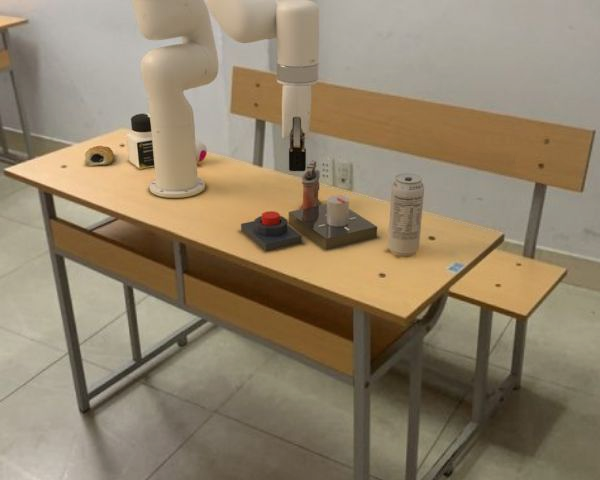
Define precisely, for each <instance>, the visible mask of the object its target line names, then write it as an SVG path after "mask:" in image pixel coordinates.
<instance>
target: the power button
mask: <svg viewBox="0 0 600 480" xmlns="http://www.w3.org/2000/svg"><path fill="white" fill-rule="evenodd" d="M261 216H262V224H263V225H267V226H274V225H278V224H280V216H281V214H280V213H279V212H278V211H270V210H269V211H265V212H262V213H261Z"/></svg>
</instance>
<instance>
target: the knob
mask: <svg viewBox="0 0 600 480" xmlns="http://www.w3.org/2000/svg"><path fill="white" fill-rule="evenodd" d="M326 204H327V219H326V222H327V224H328V225H330V226H335V227H341V226H345V225H347V224H348V216H349V209H350V198H349V197H348V196H346V195H341V194H334V195H329V196H327V198H326Z"/></svg>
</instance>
